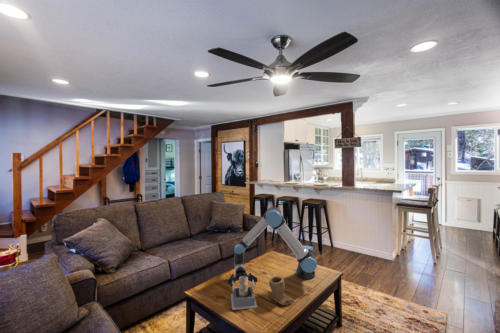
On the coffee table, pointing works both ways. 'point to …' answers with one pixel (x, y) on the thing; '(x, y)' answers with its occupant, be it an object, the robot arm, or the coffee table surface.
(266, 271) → the coffee table surface
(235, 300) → the well
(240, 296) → the peg
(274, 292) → the tan boot
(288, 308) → the coffee table surface
